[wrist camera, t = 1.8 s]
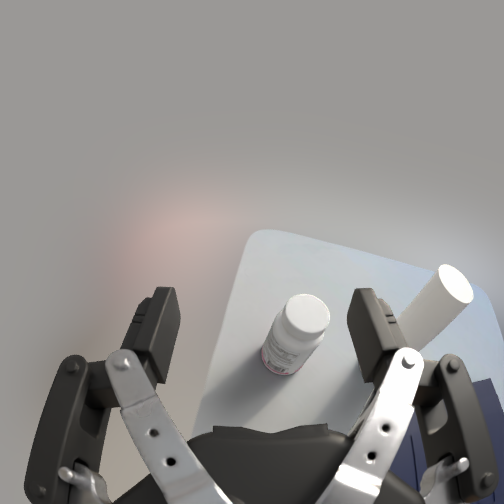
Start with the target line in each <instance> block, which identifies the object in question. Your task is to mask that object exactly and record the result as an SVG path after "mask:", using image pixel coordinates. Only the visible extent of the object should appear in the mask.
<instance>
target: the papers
mask: <svg viewBox="0 0 504 504" xmlns="http://www.w3.org/2000/svg"><path fill="white" fill-rule="evenodd" d="M472 384H473V387H474V389H475V392H476V394H477V397H478V400H479V403H480V406H481V408H482V411H483V414H484V418H485V421H486V424H487V427H488V431H489V434H490V438H491V441H492V445H493V449H494V453H495V457H496V462H497V467H498V472H499V483H498V486H497V488H496V490H495V491H494V492H493V493H492V494H491V495H490V496H488V497H486V498H484V499H481V500H479V501H476V502H474V503H471V504H504V412H503V410H502V407H501V404H500V401H499V399H498V396H497V394H496V392H495V389H494V386H493V384H492V381H491V378H489V379H486V380H482V381H478V382H474V383H472ZM443 402H444V401H443ZM444 405H445V404H444ZM445 409H446V407H445ZM446 412H447V410H446ZM447 415H448V414H447ZM390 470H391V471H392V472H393V473H394V474H396V475H397V476H398V477H399V478H401V479H402V480H403V481H405V482H406V483H407V484H408V485H410V486H411V487H412V488H414V489H415V490H416V491H418V492H420V490H421V487H420V482H421V481H422V477H423V474H424V472H425V471H426V470H427V464H426V459H425V453H424V448H423V443H422V438H421V434H420V429H419V425H418V421H417V417H416V413H415V409H414V412H413V415H412V417H411V420H410V423H409V425H408V428H407V430H406V433H405V435H404V437H403V440H402V442H401V444H400V447H399V449H398V451H397V453H396V455H395V458H394V460H393V462H392V464H391V466H390Z"/></svg>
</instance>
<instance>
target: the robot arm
mask: <svg viewBox="0 0 504 504" xmlns="http://www.w3.org/2000/svg"><path fill="white" fill-rule="evenodd" d="M347 325H348V328H349V332H350V335H351V338H352V341H353V345H354V348H355V351H356V355H357V358H358V362H359V365H360V369H361V372H362V376H363V379H364V383H369V382H373V384H374V388H373V390H372V392H371V394H370V396H369V398H368V400H367V402H366V404H365V406H364V407H363V409H362V411H361V413H360V415H359V417H358V419H357V420H356V422H355V424H354V425H353V426H352V428H351V429H350V431H349V432H348V434H347V435H345V434H342V433H340V432H337V431H332V430H328V425H327V423H326V424H317V425H305V426H298V427H295V428H291V429H288V430H284V431H280V432H276V433H265V432H260V431H256V430H251V429H247V428H243V427H226V426H213V432H210V433H205V434H202V435H199V436H196V437H194V438H192V439H190V440H189V441H187V442H186V441H185V439H184V438H183V436H182V435H181V433H180V432H179V430H178V429H177V427H176V426H175V424H174V422H173V421H172V419H171V417H170V416H169V414H168V412H167V411H166V409H165V407H164V406H163V404H162V402H161V401H160V399H159V397H158V395H157V394H156V392H155V389H156V385H157V383H162V384H165V382H166V378H167V373H168V370H169V365H170V361H171V357H172V353H173V349H174V345H175V341H176V338H177V334H178V330H179V326H180V310H179V305H178V301H177V297H176V292H175V289H174V288H173V287H157V288H156V290H155V292H154V295H153V297H152V298H145V299H144V300H143V301H142V302H141V303H140V304H139V305H138V308H137V310H136V312H135V315H134V317H133V319H132V323H131V324H130V326H129V329H128V331H127V333H126V336H125V338H124V341H123V343H122V346H121V348H120V350H117V351H115V352H113V353H111V354H110V355H109V356H108V358H107V359H106V360H104V361H97V362H89V363H87V362H86V360H85V359H84V358H83V357H82V356H80V355H71V356H69V357H67V358H65V359H64V360H63V361H62V363H61V365H60V366H59V369H58V371H57V374H56V376H55V379H54V381H53V384H52V387H51V389H50V392H49V395H48V397H47V400H46V403H45V406H44V409H43V412H42V415H41V418H40V421H39V424H38V428H37V431H36V435H35V438H34V442H33V445H32V449H31V453H30V457H29V462H28V466H27V471H26V476H25V481H24V490H25V494H26V496H27V498H28V499H29V500H30V502H31V503H32V504H471V503H474V502H476V501H479V500H481V499H484V498H486V497H488V496H490V495H491V494H492V493H493V492H494V491H495V490H496V488H497V486H498V483H499V472H498V467H497V462H496V457H495V453H494V449H493V445H492V441H491V438H490V434H489V431H488V427H487V424H486V421H485V418H484V414H483V411H482V408H481V406H480V403H479V400H478V397H477V394H476V392H475V389H474V387H473V384H472V382H471V379H470V377H469V374H468V372H467V369H466V367H465V365H464V363H463V361H462V360H461V359H460V358H459V357H458V356H456V355H454V354H446V355H444V356H443V357H442V358H441V360H440V361H431V360H424V359H423V358H422V356H421V355H420V354H419V353H418V352H417V351H415V350H414V349H411V348H409V347H408V345H407V343H406V340H405V338H404V336H403V334H402V331H401V329H400V327H399V325H398V323H397V321H396V319H395V317H394V316H393V312H392V310H391V308H390V306H389V305H388V304H387V303H386V302H385V301H384V300H383V299H377V297H376V295H375V293H374V291H373V289H372V288H357V289H355V291H354V293H353V297H352V300H351V303H350V307H349V310H348V314H347ZM443 401H444V402H443ZM444 404H445V405H444ZM114 407H121V410H120V413H121V416H122V419H123V421H124V423H125V425H126V427H127V429H128V431H129V434H130V436H131V438H132V439H133V442H134V444H135V446H136V447H137V449H138V451H139V453H140V455H141V457H142V459H143V460H144V462H145V464H146V466H147V467H148V469H149V471H150V474H149V475H147V476H146V477H145V478H144V479H143V480H141V481H140V482H139V483H137V484H136V485H135V486H134V487H132V488H131V489H130V490H128V491H127V492H126V493H125V494H123V495H122V496H121V497H119V498H118V499H117V500H115V501H114V502H113V503H112V502H111V501H110V499H109V497H108V494H107V485H106V482H105V480H104V479H103V477H102V476H101V475H100V474H98V473H99V466H100V461H101V455H102V450H103V444H104V440H105V435H106V429H107V425H108V421H109V417H110V412H111V408H114ZM445 407H446V409H445ZM414 409H415V413H416V417H417V421H418V425H419V429H420V434H421V438H422V443H423V448H424V453H425V459H426V464H427V470H426V471H425V472H424V474H423V477H422V481H421V482H420V487H421V490H420V492H418V491H416V490H415V489H414V488H412V487H411V486H410V485H408V484H407V483H406V482H405V481H403V480H402V479H401V478H399V477H398V476H397V475H396V474H394V473H393V472H392V471H391V470H389V468H390V466H391V464H392V462H393V460H394V458H395V455H396V453H397V451H398V449H399V447H400V444H401V442H402V440H403V437H404V435H405V433H406V430H407V428H408V425H409V423H410V420H411V417H412V415H413V412H414ZM446 410H447V412H446ZM447 414H448V415H447Z"/></svg>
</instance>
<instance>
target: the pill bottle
mask: <svg viewBox="0 0 504 504" xmlns="http://www.w3.org/2000/svg"><path fill="white" fill-rule="evenodd" d="M329 321H330V314H329V310H328V308H327V307H326V305H325V304H324V303H323V302H322V301H321V300H320V299H318V298H316V297H314V296H312V295H308V294H298V295H295V296H293V297H291V298H290V299H289V300H288V301H287V303H286V305H285V307H284V308H283V309H282V310H281V311H280V312H279V313H278V314H277V316H276V318H275V320H274V322H273V324H272V326H271V329H270V331H269V333H268V336H267V338H266V340H265V342H264V345H263V347H262V352H261V354H262V360H263V362H264V364H265V365H266V367H267V368H268V369H269V370H271V371H272V372H274V373H276V374H280V375H289V374H293V373H295V372H297V371H298V370H299V369H300V368H301V367H302V366H303V365H304V363H305V362H306V361H307V359H308V358H309V357H310V356H311V354H312V353H313V352H314V350H315V349H316V348H317V347H318V346H319V344H320V343H321V341H322V339H323V336H324V331H325V329H326V328H327V326H328V324H329Z"/></svg>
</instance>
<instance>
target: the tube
mask: <svg viewBox="0 0 504 504" xmlns="http://www.w3.org/2000/svg"><path fill="white" fill-rule="evenodd" d="M472 299H473V291H472V288H471V286H470V284H469V282H468V281H467V279H466V278H465V277H464V276H463V275H462V274H461V273H460V272H459V271H458V270H457V269H455V268H454V267H452V266H450V265H441V266H440V267H439V269H438V270H437V271H436V273H435V274H434V275H433V276H432V278H431V279H430V280H429V281H428V283H427V284H426V285H425V286H424V288H423V289H422V290H421V291H420V293H419V294H418V295H417V296H416V297H415V298H414V300H413V301H412V302H411V303H410V304H409V305H408V307H407V308H406V309H405V310H404V311H403V312H402V313H401V314H400V316H399V317H398V318H397V319H396V321H397V323H398V325H399V327H400V329H401V331H402V334H403V336H404V338H405V340H406V343H407V345H408V347H409V348H411V349H414V350H415V351H417V352H419V351H420V350H421V349H422V348H424V347H425V346H426V345H427V344H428V343H429V342H430V341H432V340H433V339H434V338H435V337H436V336H437V335H438V334H439V333H440V332H441V331H442V330H444V329H445V328H446V327H447V326H448V325H449V324H450V323H451V322H452V321H453V320H454V319H455V318H456V317H457V316H458V315H459V314H460V313H461V312H462V311H463V310H464V309H465V308H466V307H467V305H468V304H469V303H470V302H471V301H472ZM359 367H360V365H359ZM360 370H361V369H360Z"/></svg>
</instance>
